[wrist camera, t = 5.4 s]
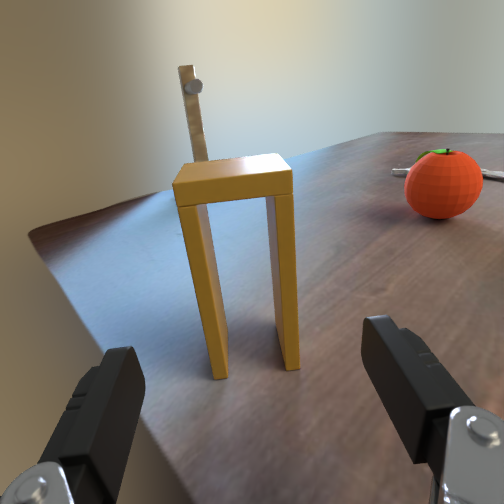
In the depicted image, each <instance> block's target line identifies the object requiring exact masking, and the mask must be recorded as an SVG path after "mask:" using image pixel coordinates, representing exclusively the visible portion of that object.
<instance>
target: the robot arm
mask: <svg viewBox="0 0 504 504" xmlns="http://www.w3.org/2000/svg"><path fill="white" fill-rule="evenodd" d="M361 356H362V361H363V365H364V367H365V369H366V371H367V373H368V375H369V377H370V379H371V381H372V383H373V385H374V387H375V389H376V391H377V393H378V395H379V397H380V399H381V401H382V403H383V405H384V407H385V409H386V411H387V413H388V415H389V417H390V419H391V421H392V422H393V424H394V426H395V428H396V430H397V432H398V434H399V436H400V438H401V440H402V442H403V444H404V446H405V448H406V450H407V452H408V454H409V456H410V458H411V460H412V462H413V464H420V463H428V465H429V467H430V468H431V470H432V472H433V476H432V481H431V489H430V496H429V504H504V421H503V420H502V419H501V418H500V417H498V416H497V415H495V414H493V413H491V412H490V411H487V410H485V409H483V408H479V407H476V406H475V405H474V404H473V402H472V401H471V400H470V399H469V397H468V396H467V395H466V394H465V393H464V391H463V390H462V389H461V388H460V386H459V385H458V384H457V383H456V381H455V380H454V379H453V378H452V376H451V375H450V374H449V373H448V371H447V370H446V369H445V368H444V366H443V365H442V364H441V363H439V360H438V359H437V358H436V356H435V355H434V354H433V353H431V350H430V349H429V348H428V346H427V345H426V344H425V343H424V341H423V340H422V339H421V338H420V337H419V336H417V335H416V334H414V333H413V332H411V331H410V330H408V329H407V328H402V329H399V328H398V327H397V326H396V324H395V323H394V322H393V320H392V319H391V318H390V317H389V316H388V315H381V316H373V317H366V318H365V319H364V321H363V332H362V344H361ZM144 396H145V378H144V375H143V372H142V369H141V367H140V364H139V361H138V358H137V355H136V352H135V350H134V348H133V347H132V346H129V347H121V348H113V349H108V350H107V351H106V353H105V355H104V357H103V360H102V362H101V364H100V366H96V367H92V368H91V369H90V370H89V371H88V372H87V373H86V374H85V375H84V377H82V379H81V380H80V381H79V383H78V385H77V387H76V389H75V391H74V393H73V395H72V398H71V399H70V400H69V403H68V404H67V407H66V411H64V412H63V415H62V416H61V418H60V420H59V423H58V424H57V426H56V428H55V430H54V432H53V434H52V436H51V438H50V440H49V442H48V444H47V446H46V448H45V450H44V452H43V454H42V456H41V458H40V460H39V461H38V463H37V465H34V466H32V467H31V468H29V469H27V470H26V471H24V472H23V473H21V474H20V475H19V476H18V477H17V478H16V479H15V480H14V481H13V482H12V483H11V484H10V485H9V486H8V488H7V489H6V490H5V492H4V493H3V495H2V496H0V504H116V501H117V497H118V494H119V490H120V486H121V483H122V479H123V475H124V471H125V467H126V464H127V460H128V456H129V452H130V449H131V445H132V441H133V438H134V433H135V430H136V426H137V423H138V419H139V415H140V411H141V407H142V404H143V400H144Z"/></svg>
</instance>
